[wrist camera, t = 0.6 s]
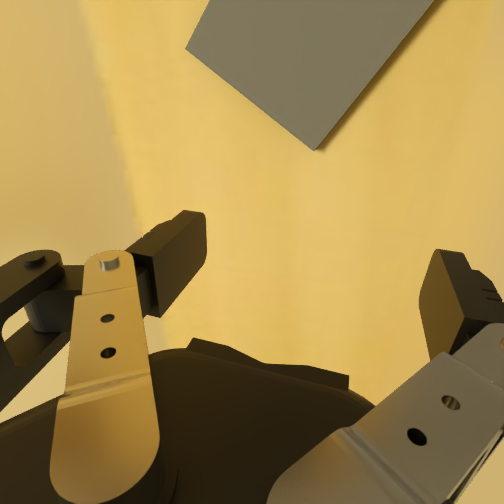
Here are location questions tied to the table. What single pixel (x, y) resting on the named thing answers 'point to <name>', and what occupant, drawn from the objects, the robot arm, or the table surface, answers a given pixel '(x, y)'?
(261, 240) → the table surface
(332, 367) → the table surface
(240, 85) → the gray mat
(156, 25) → the table surface
